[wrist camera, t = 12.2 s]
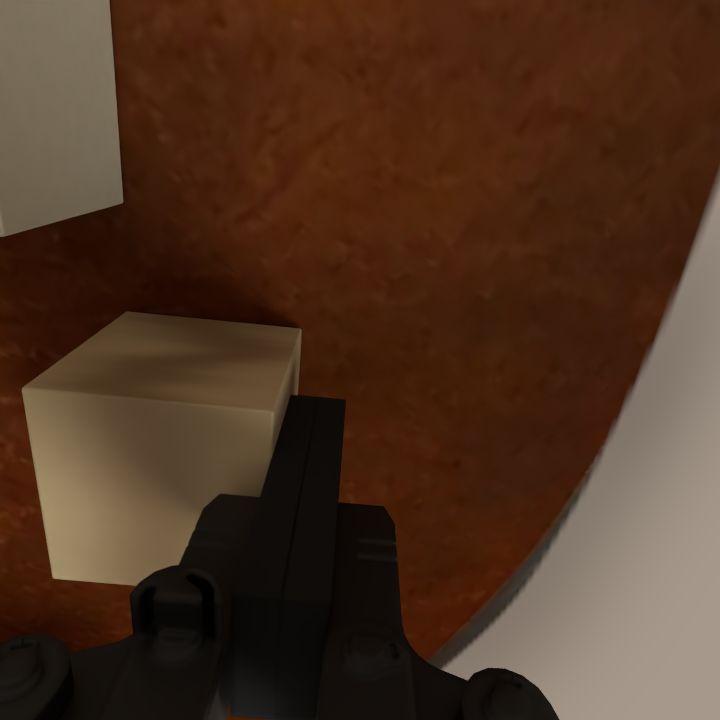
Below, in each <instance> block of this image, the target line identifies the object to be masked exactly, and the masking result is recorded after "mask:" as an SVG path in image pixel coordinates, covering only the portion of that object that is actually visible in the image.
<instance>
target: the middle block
mask: <svg viewBox="0 0 720 720" xmlns="http://www.w3.org/2000/svg"><path fill="white" fill-rule="evenodd" d="M122 203H123V188H122V174H121V160H120V145H119V131H118V116H117V102H116V87H115V73H114V59H113V44H112V30H111V15H110V1H109V0H0V237H5V236H8V235H12V234H16V233H19V232H23V231H26V230H30V229H33V228H37V227H40V226H44V225H48V224H51V223H55V222H58V221H62V220H65V219H69V218H72V217H76V216H80V215H83V214H87V213H90V212H94V211H97V210H101V209H104V208H108V207H112V206H115V205H119V204H122Z"/></svg>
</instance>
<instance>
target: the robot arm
mask: <svg viewBox="0 0 720 720" xmlns="http://www.w3.org/2000/svg"><path fill="white" fill-rule="evenodd" d="M345 406H346V400H343V399H333V398H322V397H311V396H301V395H290V398H289V402H288V405H287V409H286V412H285V415H284V419H283V422H282V425H281V429H280V432H279V436H278V439H277V442H276V446H275V449H274V453H273V456H272V458H271V461H270V464H269V468H268V471H267V475H266V478H265V482H264V485H263V488H262V492H261V495H260V497H253V496H242V495H230V494H219V495H218V496H217V497H215V498H214V499H213V500H212V501H211V502H210V503H209V504H208V505H207V506H205V507H204V508H203V510H202V512H201V515H200V517H199V519H198V522H197V524H196V526H195V531H193V533H192V535H191V538H190V540H189V542H188V546H187V547H186V549H185V551H184V554H183V556H182V558H181V561H180V563H179V565H173V566H170V567H167V568H164V569H161V570H158V571H155V572H154V573H152V574H151V575H149V576H148V577H146V578H145V579H143V580H142V581H140V582H139V584H138V585H137V586H136V588H135V589H134V590H133V591H132V593H131V594H130V604H131V615H132V625H133V635H131V636H129V637H127V638H125V639H123V640H120V641H117V642H114V643H111V644H107V645H103V646H99V647H94V648H89V649H84V650H79V651H74V652H68V650H67V648H66V645H65V643H64V642H62V641H61V640H59V639H57V638H56V637H54V636H53V635H46V634H38V633H33V634H28V635H23V636H17V637H13V638H11V639H9V640H7V641H5V642H3V643H0V720H226V719H227V714H228V710H229V706H230V716H236V717H249V718H262V719H277V720H559V718H558V716H557V715H556V713H555V711H554V710H553V707H552V706H551V704H550V703H549V701H548V700H547V699H546V697H545V696H544V695H543V693H542V692H541V691H540V690H539V688H538V687H537V686H535V685H534V684H533V683H531V682H530V681H529V680H527V679H526V678H525V677H523V676H522V675H519V674H517V673H514V672H512V671H509V670H507V669H499V668H487V669H484V670H481V671H479V672H476V673H474V674H473V675H472V676H471V677H470V679H469V680H468V681H467V680H465V679H462V678H460V677H457V676H455V675H452V674H450V673H447V672H445V671H443V670H440V669H438V668H436V667H435V666H433V665H431V664H429V663H428V662H426V661H425V660H424V659H423V658H421V657H420V656H419V655H418V654H417V653H416V652H415V651H414V649H413V648H412V647H411V646H410V644H409V642H408V640H407V638H406V636H405V634H404V631H403V626H402V618H401V604H400V591H399V577H398V563H397V550H396V536H395V524H394V522H393V520H392V519H391V517H390V516H389V514H388V512H387V511H386V509H385V508H384V506H373V505H361V504H350V503H339V502H338V499H339V485H340V472H341V459H342V445H343V432H344V419H345Z"/></svg>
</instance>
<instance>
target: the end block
mask: <svg viewBox="0 0 720 720" xmlns="http://www.w3.org/2000/svg"><path fill="white" fill-rule="evenodd" d="M301 334H302V330H301V329H300V328H290V327H280V326H270V325H259V324H249V323H239V322H229V321H219V320H209V319H199V318H189V317H179V316H169V315H159V314H149V313H138V312H128V311H127V312H125V313H124V314H122V315H121V316H119V317H118V318H117V319H115V320H114V321H113V322H111V323H110V324H108V325H107V326H106V327H104V328H103V329H102V330H100V331H99V332H98V333H96V334H95V335H93V336H92V337H91V338H89V339H88V340H87V341H85V342H84V343H83V344H81V345H80V346H78V347H77V348H76V349H74V350H73V351H72V352H70V353H69V354H67V355H66V356H65V357H63V358H62V359H61V360H59V361H58V362H57V363H55V364H54V365H52V366H51V367H50V368H48V369H47V370H46V371H44V372H43V373H42V374H40V375H39V376H37V377H36V378H35V379H33V380H32V381H31V382H29V383H28V384H27V385H25V386H24V387H23V388H22V395H23V401H24V407H25V413H26V419H27V425H28V431H29V437H30V443H31V450H32V456H33V462H34V468H35V474H36V480H37V486H38V492H39V498H40V504H41V510H42V516H43V523H44V529H45V535H46V541H47V547H48V553H49V559H50V565H51V571H52V577H53V578H54V579H65V580H76V581H88V582H100V583H112V584H123V585H135V586H137V585H138V584H139V582H140V581H142V580H143V579H145V578H146V577H148V576H149V575H151V574H152V573H154V572H155V571H158V570H161V569H164V568H167V567H170V566H173V565H179V563H180V561H181V558H182V556H183V554H184V551H185V549H186V547H187V546H188V542H189V540H190V538H191V535H192V533H193V531H195V526H196V524H197V522H198V519H199V517H200V515H201V512H202V510H203V508H204V507H205V506H207V505H208V504H209V503H210V502H211V501H212V500H213V499H214V498H215V497H217V496H218V495H219V494H230V495H242V496H253V497H260V495H261V492H262V488H263V485H264V482H265V478H266V475H267V471H268V468H269V464H270V461H271V458H272V456H273V453H274V449H275V446H276V442H277V439H278V436H279V432H280V429H281V425H282V422H283V419H284V415H285V412H286V409H287V405H288V402H289V398H290V395H298V383H299V366H300V350H301Z"/></svg>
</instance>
